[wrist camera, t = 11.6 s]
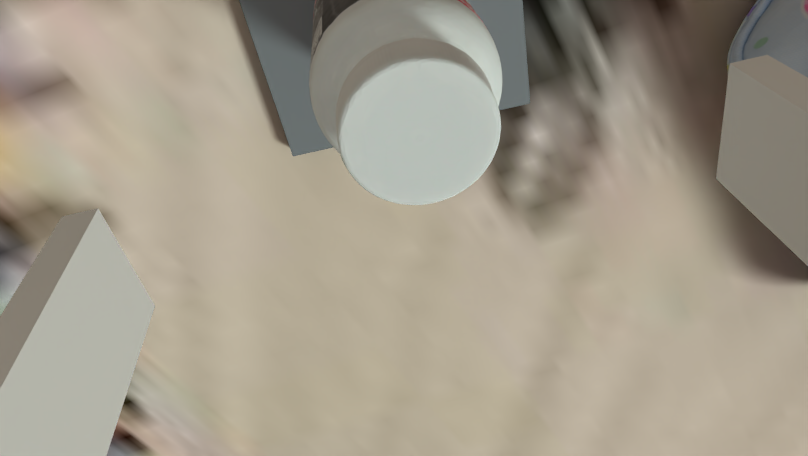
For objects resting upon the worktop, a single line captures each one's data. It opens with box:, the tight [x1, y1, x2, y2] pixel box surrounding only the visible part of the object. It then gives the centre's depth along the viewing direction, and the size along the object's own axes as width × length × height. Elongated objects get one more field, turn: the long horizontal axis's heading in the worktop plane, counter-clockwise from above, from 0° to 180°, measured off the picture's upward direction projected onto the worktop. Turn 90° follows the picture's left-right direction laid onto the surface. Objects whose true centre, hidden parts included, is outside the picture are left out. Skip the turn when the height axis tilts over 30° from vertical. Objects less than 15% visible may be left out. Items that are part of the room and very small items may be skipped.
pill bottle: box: [309, 0, 502, 205], centre depth 19 cm, size 5×5×10 cm
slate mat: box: [239, 0, 530, 156], centre depth 23 cm, size 10×10×1 cm
